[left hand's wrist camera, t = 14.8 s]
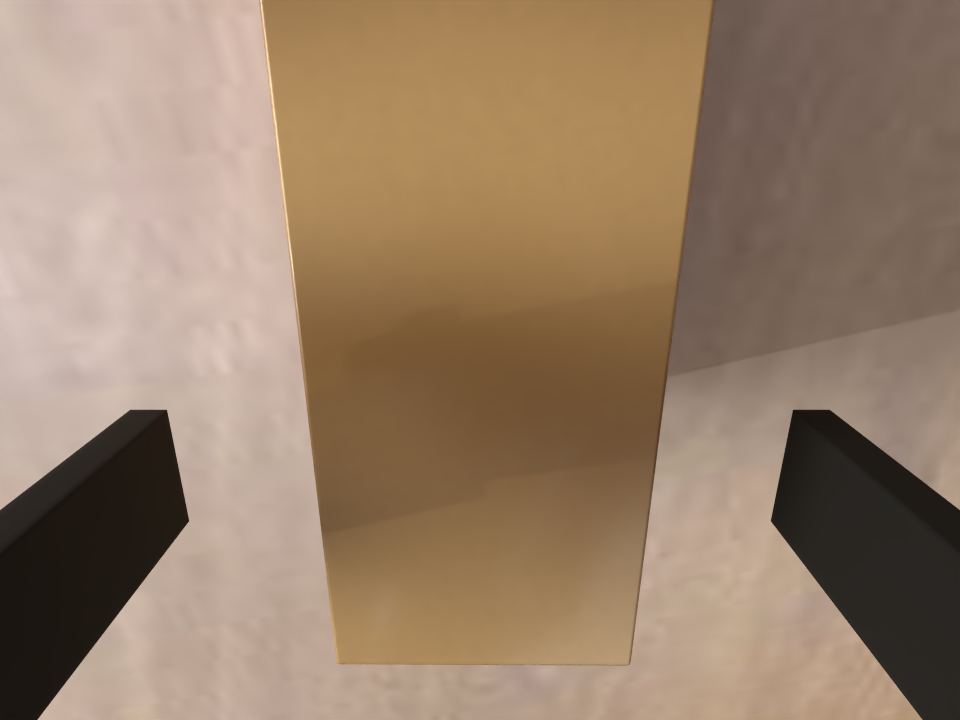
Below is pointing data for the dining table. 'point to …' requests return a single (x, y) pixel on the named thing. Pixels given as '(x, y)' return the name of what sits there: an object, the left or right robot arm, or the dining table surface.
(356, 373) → the box
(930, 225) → the dining table surface
